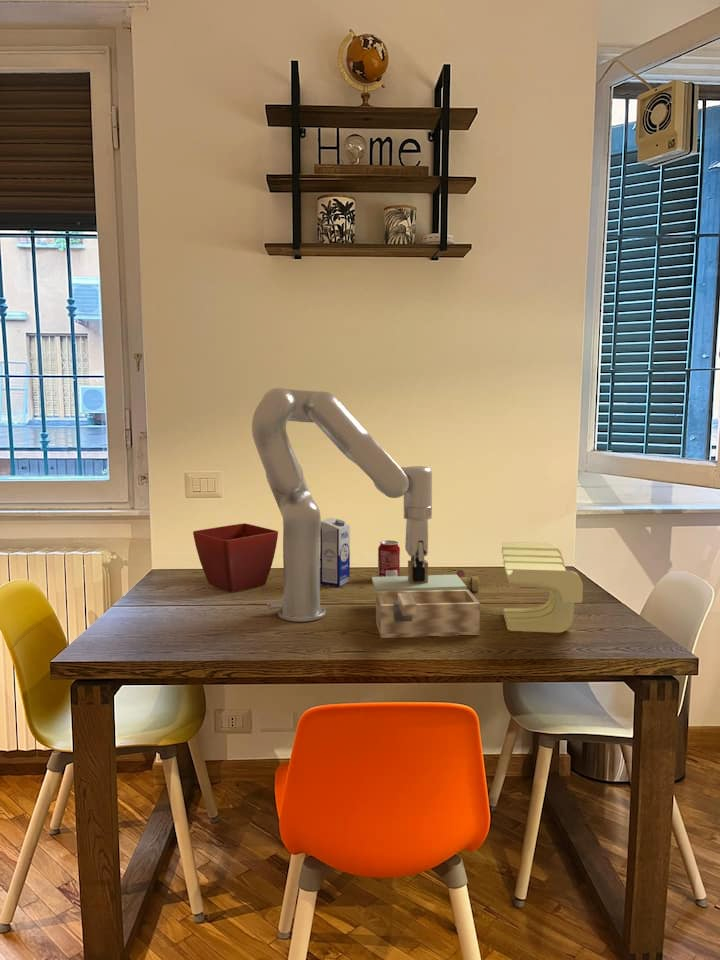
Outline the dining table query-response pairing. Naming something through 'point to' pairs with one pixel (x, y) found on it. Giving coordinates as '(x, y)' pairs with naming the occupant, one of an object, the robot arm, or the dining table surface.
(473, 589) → the gavel
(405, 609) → the bar
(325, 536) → the milk carton
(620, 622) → the dining table surface
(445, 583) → the lid
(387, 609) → the toolbox
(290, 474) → the robot arm
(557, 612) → the slatted curved stool
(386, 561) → the soda can
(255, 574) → the plant pot
